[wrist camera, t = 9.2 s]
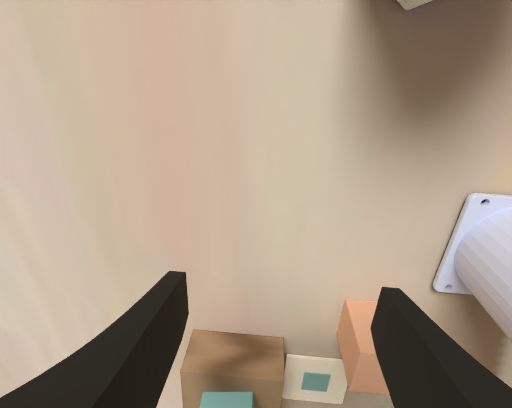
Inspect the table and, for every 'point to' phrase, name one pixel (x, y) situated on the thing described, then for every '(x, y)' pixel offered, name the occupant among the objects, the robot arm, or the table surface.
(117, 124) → the table surface
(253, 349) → the walnut block
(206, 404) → the teal block
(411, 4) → the medicine box
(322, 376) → the card
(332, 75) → the table surface
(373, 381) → the terracotta block
